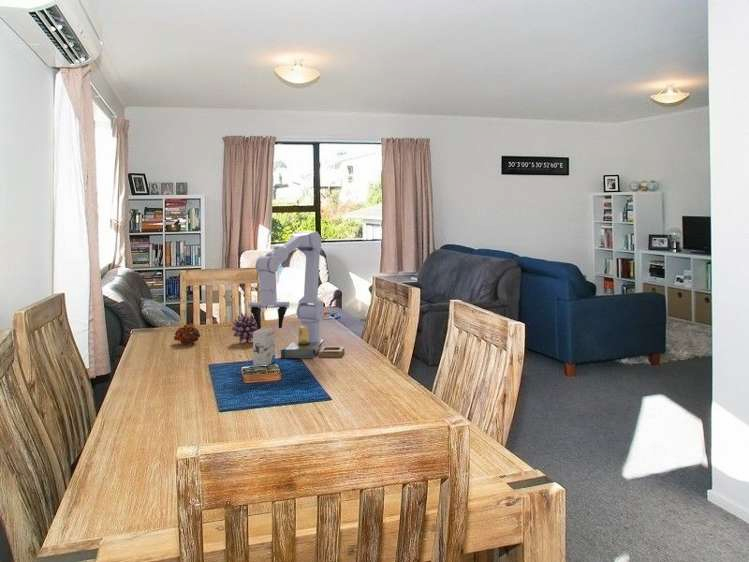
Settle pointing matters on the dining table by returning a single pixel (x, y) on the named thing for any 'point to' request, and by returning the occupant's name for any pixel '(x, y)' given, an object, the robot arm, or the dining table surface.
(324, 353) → the rack
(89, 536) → the dining table surface
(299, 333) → the yellow rectangular block
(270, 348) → the ink box
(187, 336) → the brown knobbly lump
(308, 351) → the socket block
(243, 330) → the purple spiky ball
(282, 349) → the drift key
